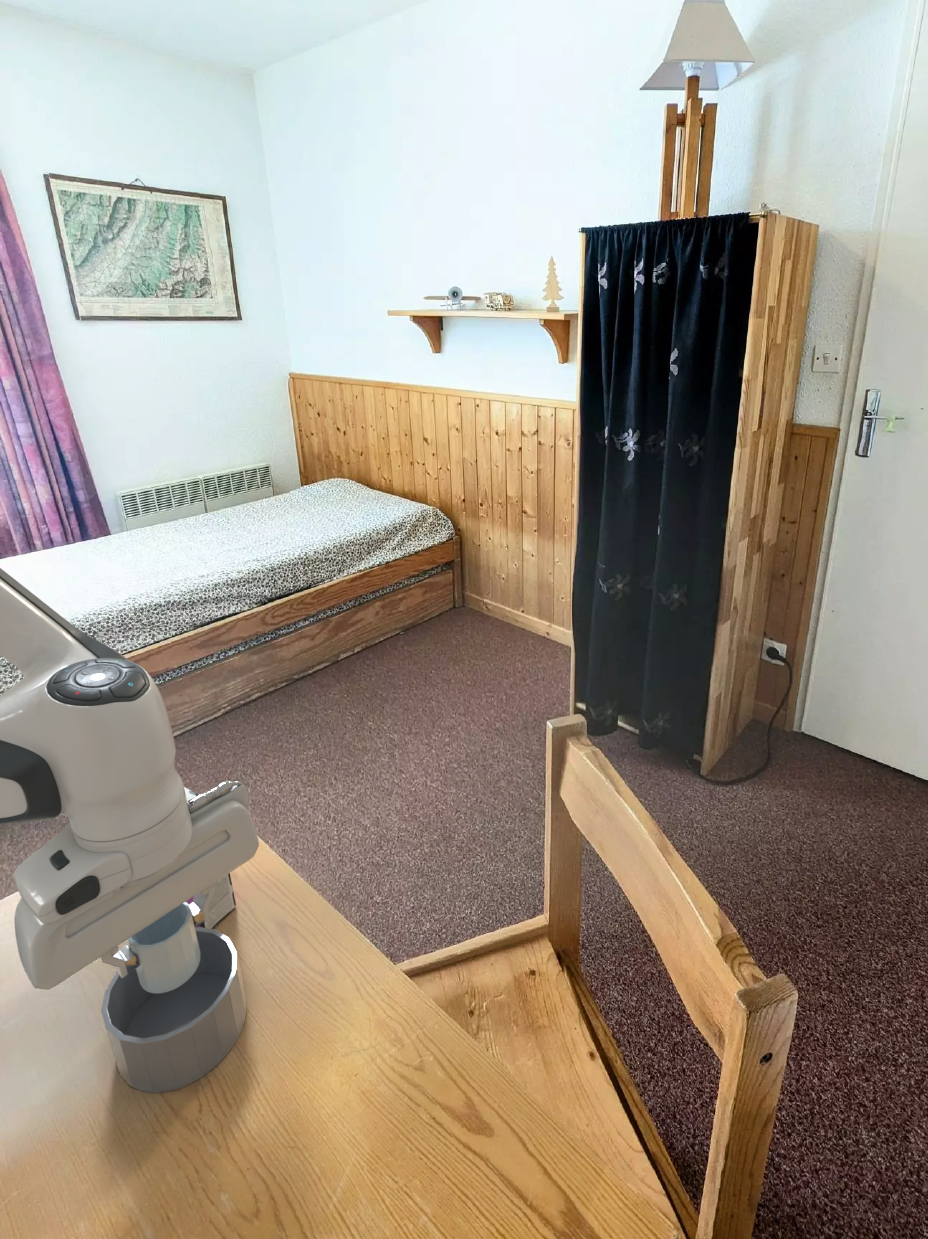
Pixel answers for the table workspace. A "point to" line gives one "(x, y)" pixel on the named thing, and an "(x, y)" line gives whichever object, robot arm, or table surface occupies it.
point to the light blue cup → (167, 951)
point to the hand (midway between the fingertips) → (164, 944)
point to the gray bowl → (177, 1020)
